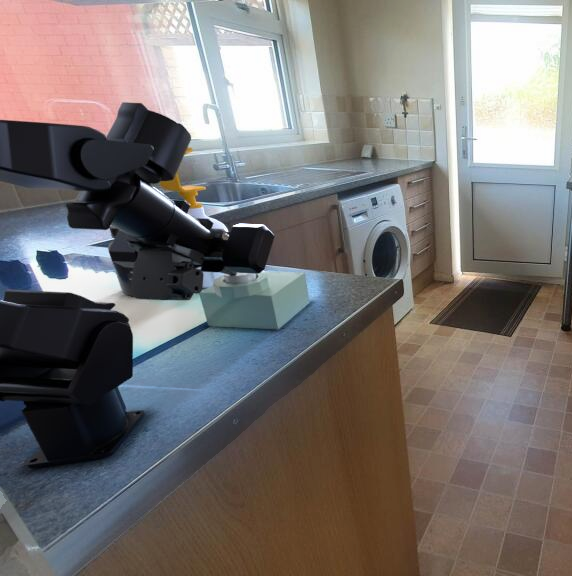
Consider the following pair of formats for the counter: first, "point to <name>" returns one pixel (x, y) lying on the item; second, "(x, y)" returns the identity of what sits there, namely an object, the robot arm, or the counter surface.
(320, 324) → the counter surface
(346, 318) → the counter surface
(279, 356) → the counter surface
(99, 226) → the robot arm
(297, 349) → the counter surface
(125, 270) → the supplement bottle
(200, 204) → the soap bottle
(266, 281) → the push button box
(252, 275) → the flush button
